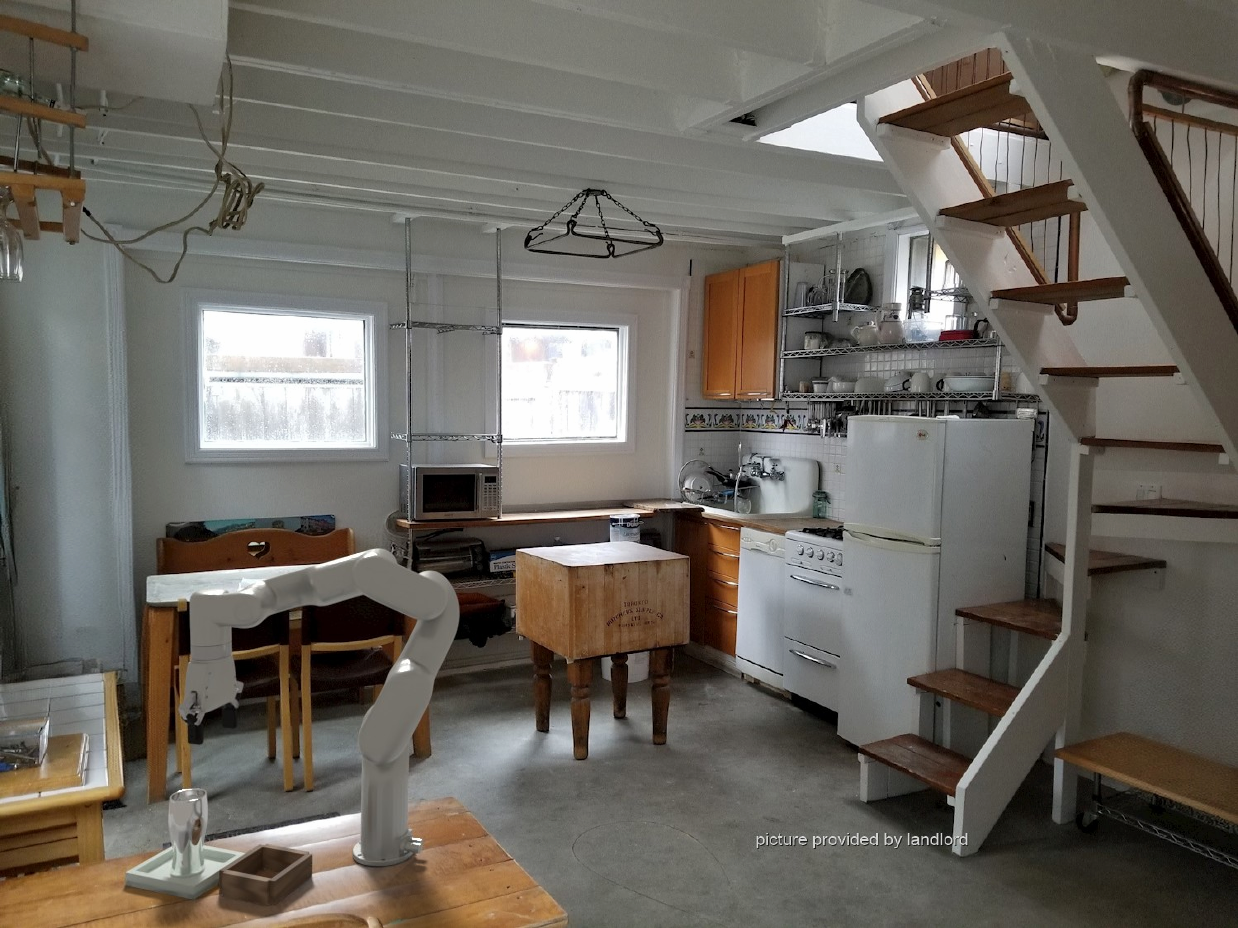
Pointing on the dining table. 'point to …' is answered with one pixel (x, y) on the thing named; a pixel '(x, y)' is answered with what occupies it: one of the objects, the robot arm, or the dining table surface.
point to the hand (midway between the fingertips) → (213, 735)
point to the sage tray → (159, 877)
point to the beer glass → (188, 831)
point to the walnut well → (262, 890)
